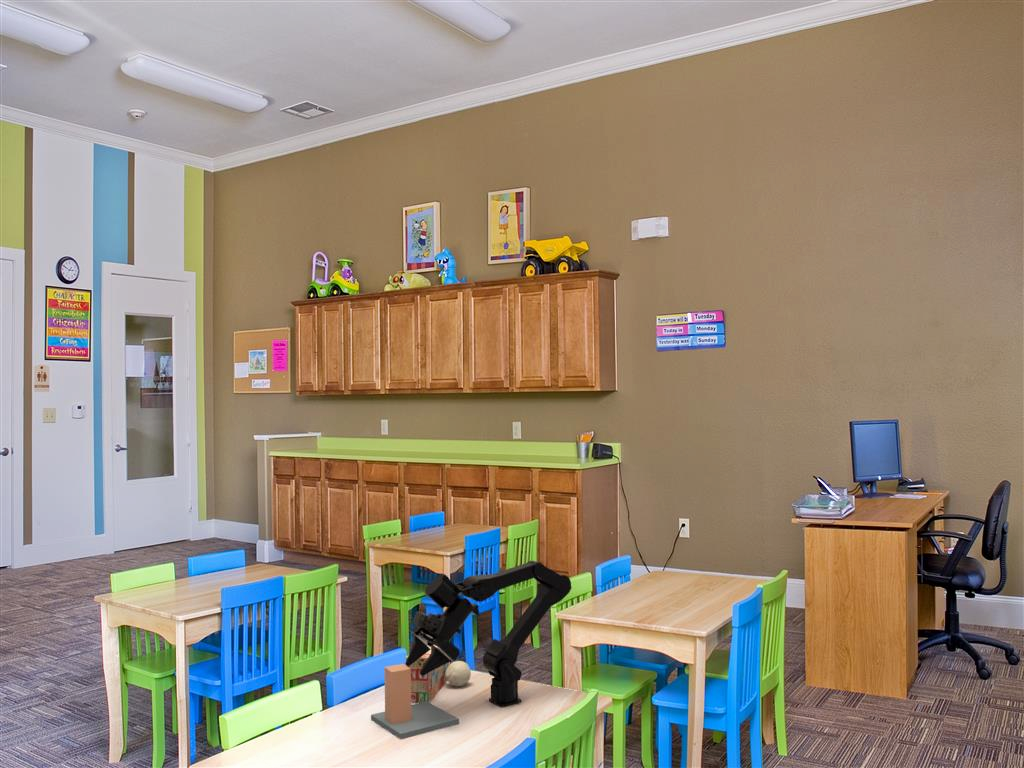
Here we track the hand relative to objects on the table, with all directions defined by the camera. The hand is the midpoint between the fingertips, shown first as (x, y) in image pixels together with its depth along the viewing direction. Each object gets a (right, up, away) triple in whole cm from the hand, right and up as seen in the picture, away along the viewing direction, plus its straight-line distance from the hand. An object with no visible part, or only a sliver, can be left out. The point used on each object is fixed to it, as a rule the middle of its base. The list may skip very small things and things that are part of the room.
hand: (413, 669), depth 207 cm
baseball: (+9, -14, +26) cm, 31 cm away
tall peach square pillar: (-4, -11, -3) cm, 12 cm away
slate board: (0, -12, -1) cm, 12 cm away
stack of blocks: (+1, -14, +23) cm, 27 cm away
